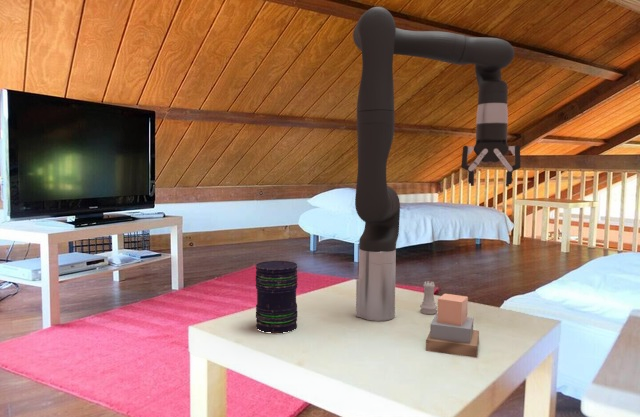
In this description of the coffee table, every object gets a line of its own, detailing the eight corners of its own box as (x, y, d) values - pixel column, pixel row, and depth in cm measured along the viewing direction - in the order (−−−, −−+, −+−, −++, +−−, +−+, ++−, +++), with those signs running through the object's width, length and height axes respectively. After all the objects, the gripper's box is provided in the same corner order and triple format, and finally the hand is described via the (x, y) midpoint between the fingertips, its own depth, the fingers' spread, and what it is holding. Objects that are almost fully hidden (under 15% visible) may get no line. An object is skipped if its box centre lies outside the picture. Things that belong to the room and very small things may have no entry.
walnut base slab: (425, 353, 100) (426, 339, 100) (432, 338, 109) (432, 325, 109) (476, 360, 96) (476, 346, 96) (478, 343, 106) (479, 330, 105)
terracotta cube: (437, 321, 102) (437, 298, 101) (444, 315, 106) (444, 293, 106) (461, 326, 99) (461, 302, 99) (467, 319, 103) (467, 296, 103)
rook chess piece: (437, 315, 124) (438, 284, 123) (419, 314, 125) (420, 283, 124) (436, 310, 128) (437, 280, 127) (419, 309, 129) (420, 280, 128)
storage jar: (283, 336, 108) (283, 270, 106) (247, 329, 112) (246, 266, 111) (305, 324, 116) (305, 263, 115) (270, 318, 121) (270, 259, 120)
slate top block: (430, 338, 100) (430, 324, 100) (435, 326, 108) (436, 313, 108) (470, 343, 98) (470, 329, 97) (473, 331, 105) (473, 317, 105)
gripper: (461, 122, 122) (459, 186, 123) (522, 120, 117) (520, 187, 118) (463, 124, 129) (462, 185, 130) (521, 123, 124) (519, 186, 125)
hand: (489, 186), depth 124 cm, fingers open, 8 cm apart
